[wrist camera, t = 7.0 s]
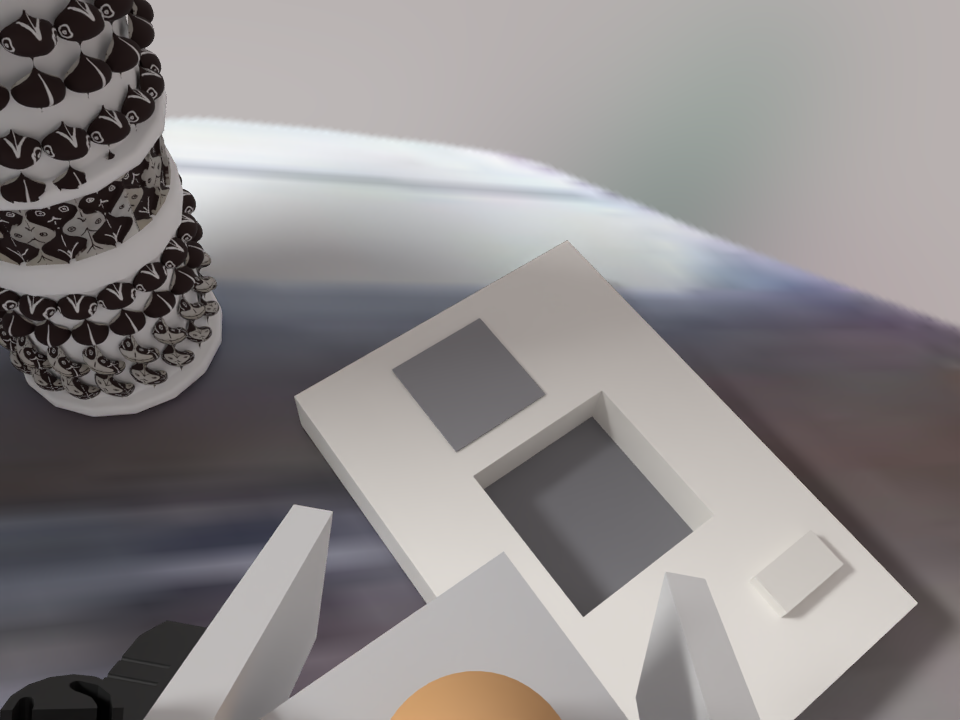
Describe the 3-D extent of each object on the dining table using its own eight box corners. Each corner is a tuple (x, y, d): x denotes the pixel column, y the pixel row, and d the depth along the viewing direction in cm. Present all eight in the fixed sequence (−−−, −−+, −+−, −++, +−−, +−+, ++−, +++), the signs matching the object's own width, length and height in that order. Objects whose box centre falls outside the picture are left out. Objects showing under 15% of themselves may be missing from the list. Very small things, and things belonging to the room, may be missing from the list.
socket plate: (301, 424, 36) (291, 389, 33) (559, 273, 41) (569, 231, 38) (615, 871, 29) (635, 871, 26) (885, 620, 33) (926, 598, 31)
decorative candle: (212, 235, 41) (36, -487, 21) (251, 393, 36) (72, -343, 16) (4, 275, 39) (-429, -497, 18) (16, 449, 34) (-551, -330, 13)
